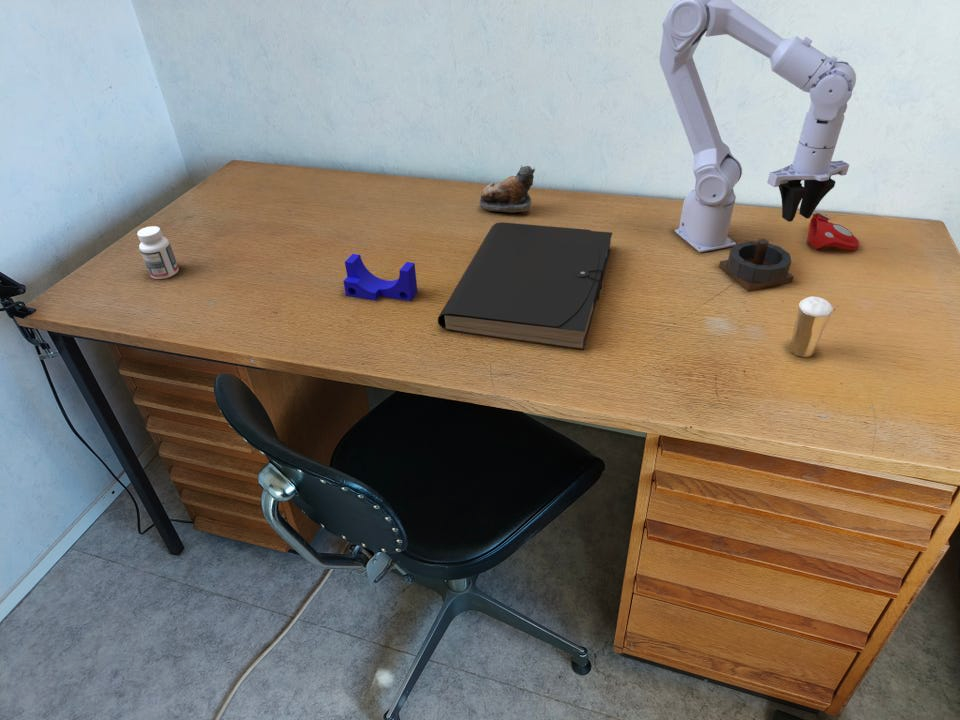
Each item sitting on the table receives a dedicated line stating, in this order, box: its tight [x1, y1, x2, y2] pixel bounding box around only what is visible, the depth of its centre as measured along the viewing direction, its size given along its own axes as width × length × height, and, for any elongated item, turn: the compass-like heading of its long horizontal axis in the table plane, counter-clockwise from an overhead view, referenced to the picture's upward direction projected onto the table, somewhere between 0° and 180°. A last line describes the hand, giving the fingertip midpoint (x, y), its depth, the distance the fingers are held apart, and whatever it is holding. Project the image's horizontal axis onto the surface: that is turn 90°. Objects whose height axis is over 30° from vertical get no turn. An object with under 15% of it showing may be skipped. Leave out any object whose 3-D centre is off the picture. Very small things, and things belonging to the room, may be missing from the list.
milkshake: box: [789, 295, 839, 358], centre depth 98 cm, size 5×5×10 cm
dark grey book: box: [437, 221, 613, 351], centre depth 117 cm, size 33×4×24 cm
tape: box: [727, 240, 793, 284], centre depth 117 cm, size 10×10×3 cm
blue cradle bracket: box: [342, 253, 419, 302], centre depth 116 cm, size 12×4×6 cm, turn 71°
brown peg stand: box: [718, 238, 794, 292], centre depth 117 cm, size 9×9×7 cm
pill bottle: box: [136, 225, 180, 280], centre depth 123 cm, size 5×5×9 cm
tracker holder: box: [806, 210, 860, 251], centre depth 127 cm, size 12×4×10 cm
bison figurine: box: [478, 165, 536, 213], centre depth 139 cm, size 12×7×10 cm, turn 74°
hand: (795, 217), depth 118 cm, fingers open, 3 cm apart
